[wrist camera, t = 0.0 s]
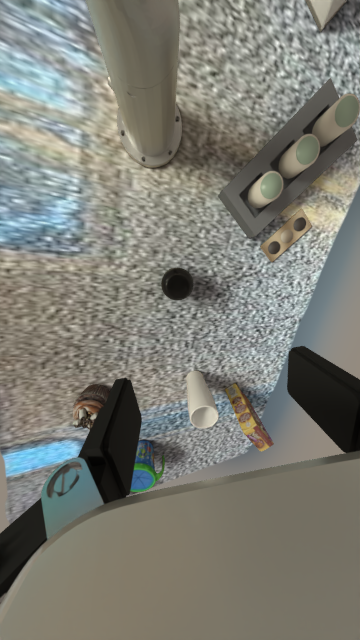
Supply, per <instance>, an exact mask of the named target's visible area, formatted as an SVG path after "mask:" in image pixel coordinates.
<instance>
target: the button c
mask: <svg viewBox="0 0 360 640" xmlns="http://www.w3.org/2000/svg"><path fill="white" fill-rule="evenodd" d="M359 111H360V104H359V100H358V98H357V97H356V96H355V95H354V94H345V95H343V96H342V97H341V98H340V99H339V100H338V101H336V102H335V103H334V104H333V105H332V106H331V107H330V108H329V109H328V110H327V111H326V112H325V113H324V114H323V115H322V116H321V117H320V118H319V119H318V120H317V121H316V122H315V124H314V126H313V129H312V134H313V135H315V136H316V137H317V138H318V140H319V143H320V147H323V146H326V145H327V144H329V143H330V142H331V141H333V140H334V139H335V138H337V137H338V136H340V135H341V134H342V133H344V132H345V131H346V130H348V129H349V128H350V127H351V126H353V124H354V123H355V122H356V120H357V118H358V115H359Z"/></svg>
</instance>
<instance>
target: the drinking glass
mask: <svg viewBox="0 0 360 640" xmlns="http://www.w3.org/2000/svg"><path fill="white" fill-rule="evenodd" d="M186 381H187V400H188V411H189V417H190V421H191V423H192V424H193V425H194V426H195V427H198V428H208V427H211V426H212V425H214V424H215V423H216V422H217V420H218V416H219V415H218V411H217V407H216V404H215V401H214V399H213V397H212V394H211V392H210V390H209V388H208V386H207V384H206V382H205V379H204V377H203V374H202V373H201V372H199V371H191V372H190V373H189V374H188V375H187V377H186Z"/></svg>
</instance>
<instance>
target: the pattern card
mask: <svg viewBox="0 0 360 640" xmlns="http://www.w3.org/2000/svg"><path fill="white" fill-rule="evenodd" d="M311 227H312V225H311V223H310V222H309V220H308V218H307V216H306V215H305V213H304V211H303V210H302V209H300V210H299V211H298V212H297V213H296V214H295V215H294V216H293V217H291V218H290V219H289V220H288V221H287V222H286V223H285V224H284V225H283V226H282V227H281V228H280V229H279V230H277V231H276V232H275V233H274V234H273V235H272V236H271V237H270V238H269V239H268V240H267V241H266V242H264V243H263V244H262V245H261V246H260V247H261V249H262V250H263V252H264V253H265V254H266V256H267V257H268V259H269V260H270V261H271V262H273V261H274V260H275V259H276V258H277V257H278V256H279V255H281V254H282V253H283V252H284V251H285V250H286V249H287V248H288V247H290V246H291V245H292V244H293V243H294V242H295V241H296V240H297V239H298V238H300V237H301V236H302V235H303V234H304V233H305V232H306V231H307V230H309V229H310V228H311Z"/></svg>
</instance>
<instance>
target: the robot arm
mask: <svg viewBox="0 0 360 640" xmlns="http://www.w3.org/2000/svg"><path fill="white" fill-rule="evenodd" d="M85 1H86V4H87V7H88V10H89V13H90V16H91V19H92V22H93V25H94V28H95V31H96V35H97V38H98V41H99V44H100V48H101V51H102V54H103V58H104V61H105V64H106V67H107V71H108V74H109V78H108V85H109V86H110V87H111V89H112V90H113V91H114V93H115V97H116V100H117V103H118V106H119V108H118V115H117V126H118V133H119V136H120V139H121V142H122V144H123V146H124V148H125V150H126V152H127V153H128V154H129V156H130V157H131V158H132V159H133V160H134V161H136V162H137V163H139V164H140V165H142V166H145V167H150V168H156V167H160V166H163V165H165V164H167V163H168V162H169V161H170V160H171V159H172V158H173V157H174V156H175V154H176V153H177V151H178V148H179V146H180V142H181V136H182V120H181V115H180V112H179V109H178V107H177V104H176V88H177V70H178V52H179V32H180V14H179V3H178V0H85ZM176 121H178V122H176ZM123 135H124V136H123ZM169 154H171V155H169ZM143 160H145V162H143ZM288 361H289V362H288V384H287V389H288V392H289V394H290V395H291V397H292V398H293V399H294V400H295V401H296V402H297V403H298V404H299V405H300V406H301V407H302V408H303V409H304V410H305V411H306V413H307V414H308V415H310V417H311V418H312V419H313V420H314V421H315V422H316V423H317V424H318V425H319V426H320V427H321V428H322V429H323V431H324V432H325V433H326V434H327V435H328V436H329V437H330V438H331V439H332V440H333V441H334V442H335V443H336V445H338V447H339V448H340V449H341V450H342V451H343V452H345V453H346V454H340V455H335V456H329V457H323V458H318V459H313V460H307V461H302V462H297V463H291V464H286V465H281V466H276V467H270V468H265V469H260V470H255V471H250V472H244V473H239V474H235V475H229V476H224V477H219V478H214V479H209V480H204V481H199V482H194V483H189V484H184V485H179V486H174V487H170V488H164V489H160V490H155V491H151V492H146V493H142V494H137V495H133V496H129V497H126V495H129V494H130V490H131V484H132V478H133V472H134V466H135V459H136V453H137V447H138V441H139V434H140V428H141V422H142V419H141V413H140V410H139V407H138V403H137V400H136V397H135V393H134V390H133V386H132V383H131V380H127V378H122V379H116V380H115V382H114V384H113V387H112V389H111V391H110V393H109V396H108V398H107V400H106V402H105V405H104V406H103V407H101V409H100V410H99V412H98V414H97V417H96V419H95V421H94V423H93V425H92V428H91V430H90V432H89V434H88V436H87V438H86V441H85V443H84V445H83V447H82V449H81V451H80V454H79V456H78V458H72V459H70V460H67V461H66V462H64V463H62V464H61V465H60V466H59V467H57V468H56V469H55V470H54V471H53V472H52V474H51V475H50V476H49V477H48V479H47V480H46V482H45V484H44V486H43V489H42V492H41V498H40V499H39V500H38V501H37V502H36V503H35V504H34V505H32V506H31V507H30V508H29V509H28V510H27V511H26V512H24V513H23V514H22V515H21V516H20V517H19V518H17V519H16V520H15V521H14V522H13V523H12V524H11V525H9V526H8V527H7V528H6V529H5V530H4V531H3V532H2V533H0V640H360V380H359V379H358V378H356V377H354V376H353V375H351V374H349V373H348V372H346V371H344V370H343V369H341V368H339V367H338V366H336V365H334V364H333V363H331V362H329V361H328V360H326V359H324V358H323V357H321V356H319V355H318V354H316V353H314V352H313V351H311V350H309V349H308V348H306V347H304V346H300V347H294V348H292V349H291V351H289V359H288Z"/></svg>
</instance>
